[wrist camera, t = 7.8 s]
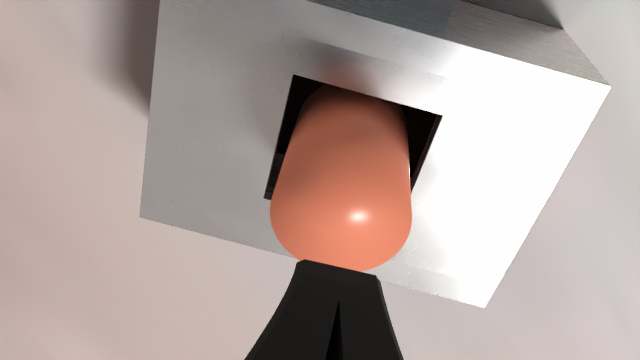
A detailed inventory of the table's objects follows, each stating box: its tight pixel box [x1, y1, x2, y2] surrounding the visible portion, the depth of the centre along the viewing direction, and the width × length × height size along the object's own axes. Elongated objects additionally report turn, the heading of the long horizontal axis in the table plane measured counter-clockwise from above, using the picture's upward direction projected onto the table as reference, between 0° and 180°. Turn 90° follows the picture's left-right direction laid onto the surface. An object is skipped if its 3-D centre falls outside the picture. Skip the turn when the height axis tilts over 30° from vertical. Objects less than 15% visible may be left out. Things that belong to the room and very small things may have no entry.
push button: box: [270, 84, 412, 272], centre depth 14 cm, size 3×3×4 cm
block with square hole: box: [140, 0, 611, 308], centre depth 16 cm, size 10×7×4 cm
